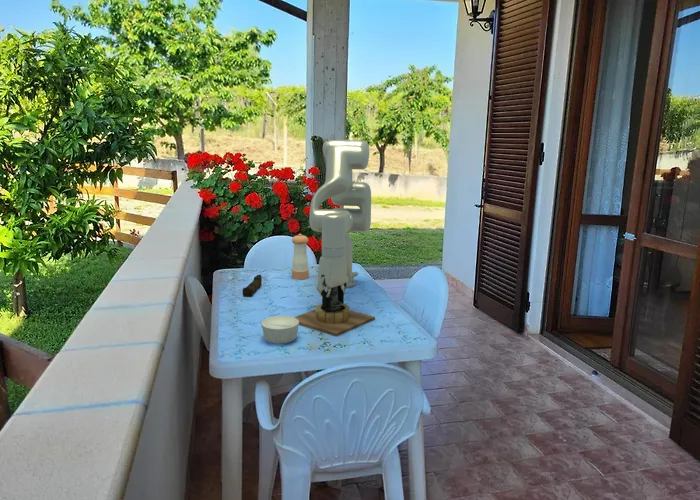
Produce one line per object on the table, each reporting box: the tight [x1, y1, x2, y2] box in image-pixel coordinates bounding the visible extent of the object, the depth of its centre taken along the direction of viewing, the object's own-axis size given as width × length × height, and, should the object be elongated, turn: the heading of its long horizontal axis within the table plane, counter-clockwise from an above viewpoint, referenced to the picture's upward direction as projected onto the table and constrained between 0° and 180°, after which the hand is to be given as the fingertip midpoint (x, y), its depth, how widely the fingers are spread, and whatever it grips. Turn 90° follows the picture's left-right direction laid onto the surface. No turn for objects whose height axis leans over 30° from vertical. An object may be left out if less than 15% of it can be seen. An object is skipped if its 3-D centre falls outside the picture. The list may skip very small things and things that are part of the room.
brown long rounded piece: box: [242, 274, 263, 298], centre depth 204 cm, size 19×4×5 cm, turn 172°
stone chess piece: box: [326, 286, 342, 312], centre depth 169 cm, size 6×6×12 cm
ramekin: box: [261, 315, 300, 345], centre depth 155 cm, size 11×11×5 cm
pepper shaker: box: [291, 233, 310, 281], centre depth 222 cm, size 7×7×19 cm
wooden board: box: [293, 309, 376, 337], centre depth 171 cm, size 20×20×1 cm
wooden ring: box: [315, 303, 351, 324], centre depth 170 cm, size 11×11×4 cm
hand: (332, 304), depth 170 cm, fingers closed on stone chess piece, 5 cm apart
